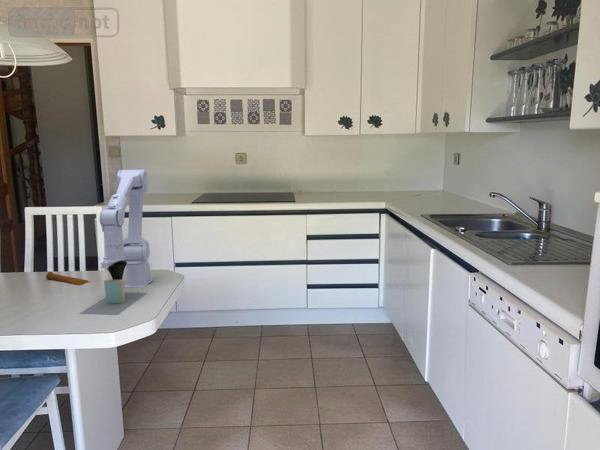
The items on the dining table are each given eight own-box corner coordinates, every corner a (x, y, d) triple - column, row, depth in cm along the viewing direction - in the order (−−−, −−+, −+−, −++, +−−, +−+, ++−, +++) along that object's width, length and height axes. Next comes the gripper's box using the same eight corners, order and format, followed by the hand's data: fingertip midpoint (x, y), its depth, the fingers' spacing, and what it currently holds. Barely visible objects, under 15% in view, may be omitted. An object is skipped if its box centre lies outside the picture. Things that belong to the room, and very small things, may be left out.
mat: (114, 293, 164) (113, 292, 164) (147, 294, 162) (147, 292, 162) (79, 314, 144) (79, 313, 144) (117, 316, 142) (117, 314, 142)
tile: (108, 301, 154) (106, 279, 153) (124, 302, 153) (122, 279, 152) (105, 303, 153) (103, 280, 151) (122, 303, 152) (120, 281, 150)
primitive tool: (90, 282, 179) (89, 273, 178) (80, 286, 174) (79, 277, 173) (52, 278, 185) (51, 270, 184) (41, 282, 180) (40, 274, 179)
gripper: (114, 239, 160) (117, 276, 162) (90, 249, 145) (95, 289, 148) (133, 240, 159) (136, 277, 161) (111, 249, 144) (115, 290, 147)
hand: (117, 283), depth 154 cm, fingers closed
